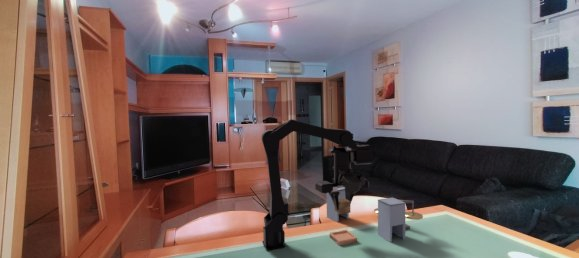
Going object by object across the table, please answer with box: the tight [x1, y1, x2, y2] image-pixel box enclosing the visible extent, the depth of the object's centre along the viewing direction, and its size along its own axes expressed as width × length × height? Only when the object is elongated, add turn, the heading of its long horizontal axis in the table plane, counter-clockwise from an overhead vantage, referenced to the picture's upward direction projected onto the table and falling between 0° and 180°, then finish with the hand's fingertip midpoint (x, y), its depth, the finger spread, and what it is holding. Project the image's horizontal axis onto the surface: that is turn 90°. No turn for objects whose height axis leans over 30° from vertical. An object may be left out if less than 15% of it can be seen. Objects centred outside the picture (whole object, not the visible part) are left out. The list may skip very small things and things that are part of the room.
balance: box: [373, 199, 424, 231], centre depth 107 cm, size 6×24×13 cm, turn 19°
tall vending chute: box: [325, 187, 350, 223], centre depth 117 cm, size 6×6×13 cm
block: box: [335, 198, 351, 214], centre depth 97 cm, size 4×4×4 cm
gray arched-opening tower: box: [377, 197, 406, 243], centre depth 98 cm, size 6×6×13 cm
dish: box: [329, 229, 358, 246], centre depth 97 cm, size 7×7×2 cm
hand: (342, 208), depth 97 cm, fingers closed on block, 4 cm apart
